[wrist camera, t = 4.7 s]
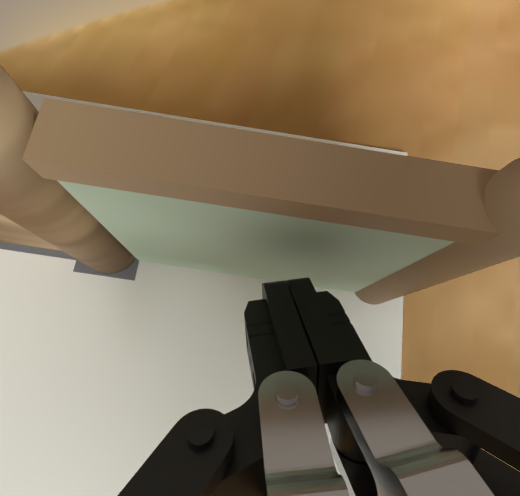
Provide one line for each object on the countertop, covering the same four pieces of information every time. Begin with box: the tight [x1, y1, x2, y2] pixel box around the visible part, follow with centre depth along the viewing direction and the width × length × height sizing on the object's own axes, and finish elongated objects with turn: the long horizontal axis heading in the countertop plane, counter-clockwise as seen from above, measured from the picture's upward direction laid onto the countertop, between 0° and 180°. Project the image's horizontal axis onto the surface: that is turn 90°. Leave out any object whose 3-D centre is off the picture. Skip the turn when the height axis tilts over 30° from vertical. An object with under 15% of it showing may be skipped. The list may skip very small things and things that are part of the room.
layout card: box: [0, 91, 407, 496], centre depth 16 cm, size 20×17×1 cm
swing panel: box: [22, 98, 520, 305], centre depth 11 cm, size 11×2×9 cm, turn 82°
